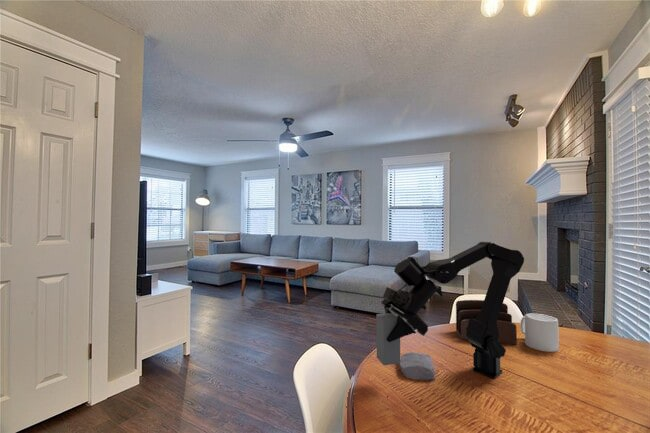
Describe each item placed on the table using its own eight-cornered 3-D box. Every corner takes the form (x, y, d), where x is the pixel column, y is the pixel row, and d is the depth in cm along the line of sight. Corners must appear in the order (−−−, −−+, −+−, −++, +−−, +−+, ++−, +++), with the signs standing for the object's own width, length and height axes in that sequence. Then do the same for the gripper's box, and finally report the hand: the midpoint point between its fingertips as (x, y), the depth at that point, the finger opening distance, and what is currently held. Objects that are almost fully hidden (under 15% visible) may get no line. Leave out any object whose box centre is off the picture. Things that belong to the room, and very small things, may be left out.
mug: (511, 338, 116) (510, 311, 116) (532, 336, 118) (531, 310, 119) (543, 353, 103) (542, 322, 103) (566, 350, 105) (565, 320, 105)
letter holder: (455, 331, 124) (455, 298, 125) (507, 335, 120) (507, 301, 120) (461, 340, 115) (460, 304, 115) (517, 345, 110) (516, 307, 111)
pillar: (392, 355, 86) (392, 313, 86) (400, 363, 81) (399, 318, 81) (376, 357, 85) (376, 314, 85) (383, 365, 80) (383, 319, 80)
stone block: (403, 385, 86) (438, 381, 84) (400, 368, 86) (434, 364, 85) (400, 367, 97) (431, 363, 96) (397, 352, 98) (427, 348, 96)
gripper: (386, 272, 94) (354, 309, 91) (417, 284, 75) (377, 330, 73) (409, 295, 95) (377, 332, 92) (444, 312, 77) (406, 359, 74)
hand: (383, 337), depth 83 cm, fingers closed on pillar, 5 cm apart
